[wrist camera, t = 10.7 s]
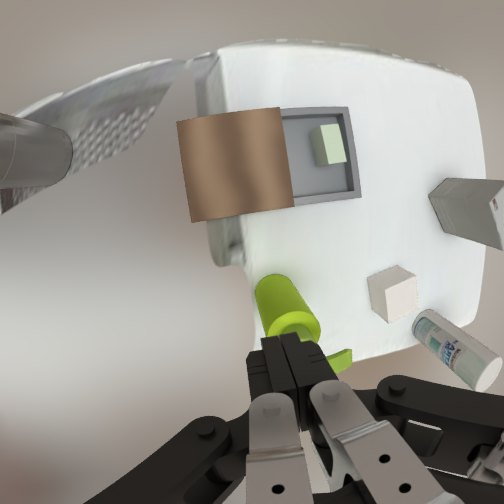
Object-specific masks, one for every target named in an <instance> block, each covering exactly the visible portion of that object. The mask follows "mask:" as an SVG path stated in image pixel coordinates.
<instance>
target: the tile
mask: <svg viewBox="0 0 504 504" xmlns="http://www.w3.org/2000/svg"><path fill="white" fill-rule="evenodd" d="M309 135H310V139H311V143H312V148H313V153H314V157H315V162H316V167H319V166H325V165H332V164H337V163H342V162H347V161H346V156H345V151H344V146H343V142H342V137H341V133H340V129H339V124H330V125H320V126H319V127H317V128H316V129H314V130H312V131H311V132H309Z"/></svg>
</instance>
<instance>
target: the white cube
mask: <svg viewBox="0 0 504 504" xmlns="http://www.w3.org/2000/svg"><path fill="white" fill-rule="evenodd" d="M367 281H368V287H369V293H370V300H371V307H372V310H373V311H375V312H376V313H377V314H378V315H379V316H380V317H381V318H383V319H384V320H385V321H386V322H387V323H388V324H389V323H392V322H394V321H396V320H398V319H400V318H402V317H404V316H406V315H408V314H410V313H412V312H414V311H416V310H418V309H419V304H418V288H417V277H416V275H415V274H413V273H411V272H409V271H407V270H405V269H403V268H401V267H399V266H397V265H396V266H394V267H391V268H389V269H387V270H384V271H382V272H379V273H377V274H374V275H372V276H370V277H367Z"/></svg>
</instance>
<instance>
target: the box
mask: <svg viewBox="0 0 504 504" xmlns="http://www.w3.org/2000/svg"><path fill="white" fill-rule="evenodd" d="M280 112H281V118H282V124H283V130H284V136H285V142H286V149H287V155H288V162H289V168H290V175H291V182H292V190H293V197H294V205H295V206H297V205H305V204H312V203H320V202H328V201H336V200H344V199H353V198H361V197H362V196H361V187H360V178H359V171H358V163H357V156H356V149H355V143H354V137H353V131H352V125H351V120H350V115H349V110H348V107H305V108H288V109H280ZM330 124H339V129H340V133H341V137H342V142H343V146H344V151H345V156H346V161H347V162H342V163H337V164H332V165H325V166H319V167H316V162H315V157H314V153H313V148H312V143H311V139H310V135H309V132H311V131H312V130H314V129H316V128H317V127H319V126H320V125H330Z"/></svg>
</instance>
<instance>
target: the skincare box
mask: <svg viewBox="0 0 504 504" xmlns="http://www.w3.org/2000/svg"><path fill="white" fill-rule="evenodd" d="M428 197H429V199H430V201H431V203H432V205H433V207H434V209H435V212H436V214H437V216H438V218H439V221H440V223H441V225H442V227H443V230H444V232H445V233H449V234H452V235H456V236H459V237H462V238H465V239H469V240H472V241H475V242H478V243H481V244H484V245H487V246H490V247H494V248H497V249H499V250H502V251H503V250H504V181H502V180H486V179H463V178H447V179H446V180H445V181H443V182H442V183H441V184H440V185H439V186H438V187H437V188H436V189H435V190H434V191H432V192H431V193H430V194H429V195H428Z"/></svg>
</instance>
